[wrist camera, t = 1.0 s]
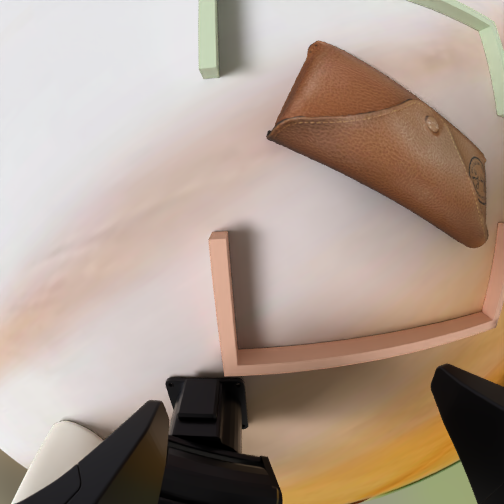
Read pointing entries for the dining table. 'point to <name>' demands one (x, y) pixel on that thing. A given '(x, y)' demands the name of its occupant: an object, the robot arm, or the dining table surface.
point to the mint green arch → (499, 60)
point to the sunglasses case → (385, 141)
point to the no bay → (343, 351)
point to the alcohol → (57, 456)
